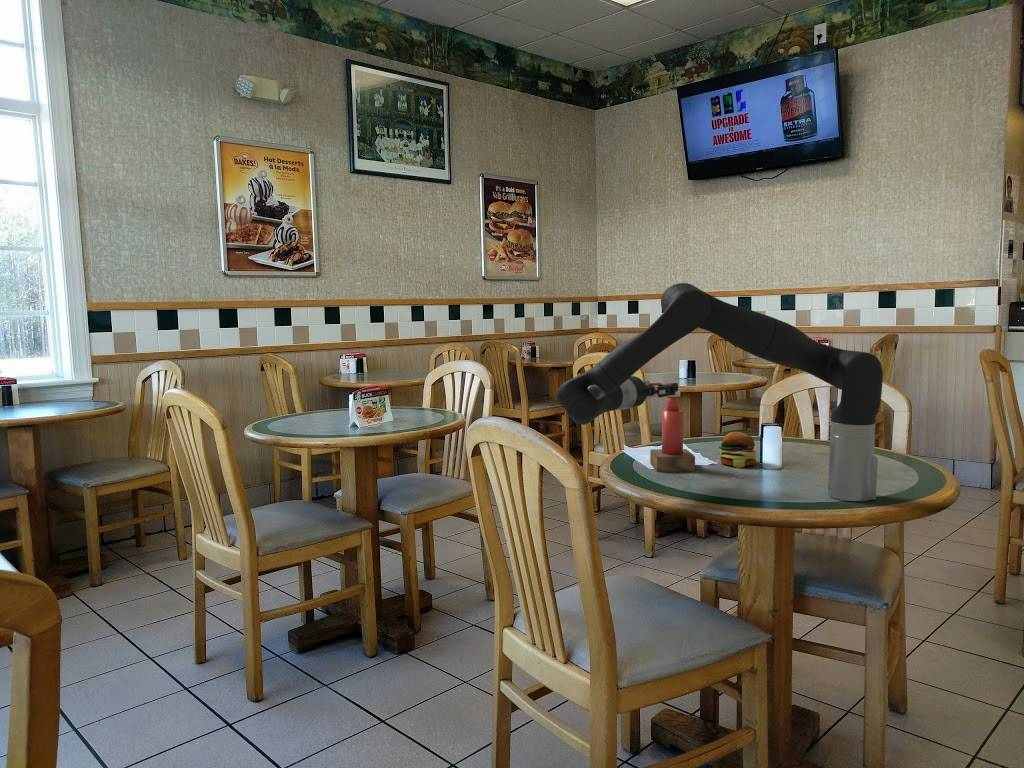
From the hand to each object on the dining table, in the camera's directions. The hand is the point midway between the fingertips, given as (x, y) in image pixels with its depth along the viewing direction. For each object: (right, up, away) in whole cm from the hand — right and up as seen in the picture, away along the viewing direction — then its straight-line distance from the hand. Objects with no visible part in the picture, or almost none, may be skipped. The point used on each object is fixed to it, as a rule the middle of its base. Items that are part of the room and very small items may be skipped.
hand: (662, 386), depth 192 cm
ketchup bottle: (+5, -18, +12) cm, 22 cm away
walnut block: (+5, -22, +12) cm, 26 cm away
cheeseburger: (+24, -22, +16) cm, 36 cm away
